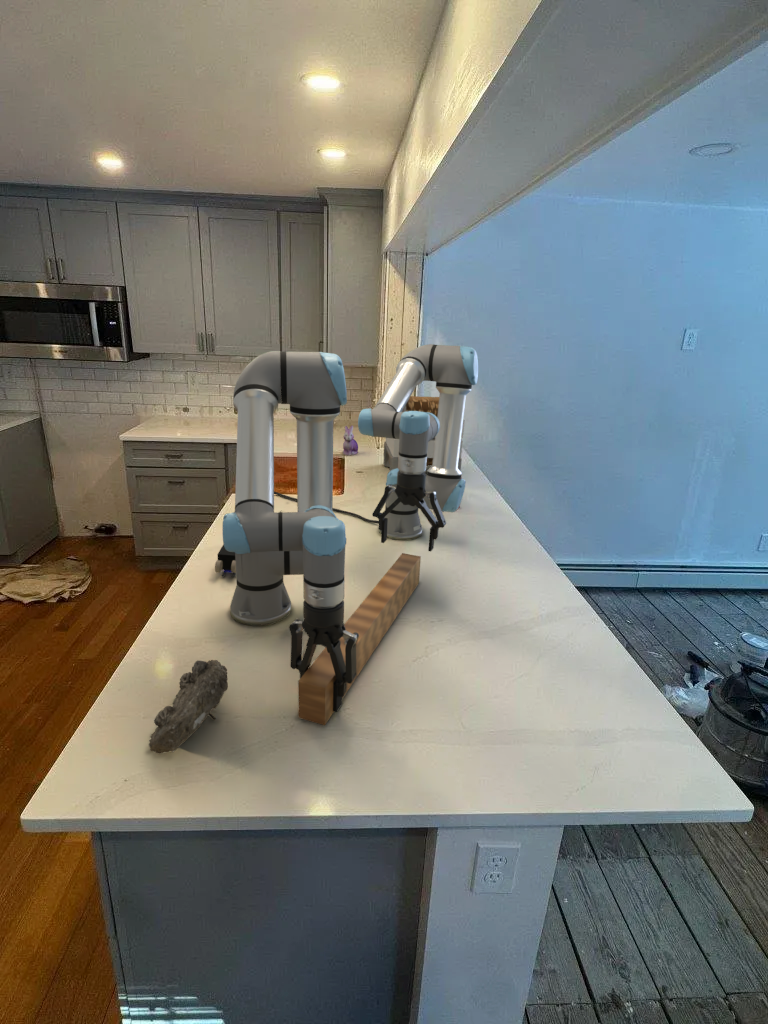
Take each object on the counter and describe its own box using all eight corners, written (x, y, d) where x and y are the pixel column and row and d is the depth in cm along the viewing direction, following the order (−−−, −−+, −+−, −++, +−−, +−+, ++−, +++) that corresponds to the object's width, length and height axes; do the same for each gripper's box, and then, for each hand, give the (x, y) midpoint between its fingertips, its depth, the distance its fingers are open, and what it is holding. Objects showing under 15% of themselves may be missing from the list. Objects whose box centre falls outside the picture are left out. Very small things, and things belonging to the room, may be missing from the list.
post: (400, 579, 166) (402, 553, 164) (418, 582, 165) (420, 556, 162) (298, 717, 109) (298, 680, 106) (324, 725, 107) (325, 688, 104)
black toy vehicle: (238, 584, 162) (249, 557, 175) (236, 562, 158) (247, 536, 172) (215, 584, 161) (227, 556, 175) (212, 561, 158) (225, 535, 171)
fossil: (177, 661, 117) (228, 629, 112) (210, 691, 120) (261, 661, 115) (124, 747, 97) (183, 713, 92) (164, 781, 100) (223, 749, 95)
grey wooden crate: (382, 463, 289) (386, 382, 275) (445, 464, 293) (451, 384, 279) (390, 482, 257) (394, 392, 243) (460, 483, 261) (468, 394, 247)
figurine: (346, 456, 299) (346, 428, 294) (338, 451, 308) (338, 424, 302) (362, 454, 303) (363, 427, 298) (354, 450, 312) (354, 423, 307)
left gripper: (269, 598, 104) (271, 703, 112) (363, 619, 98) (359, 728, 106) (288, 581, 111) (290, 681, 119) (378, 600, 105) (373, 703, 113)
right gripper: (362, 468, 150) (360, 542, 157) (455, 481, 142) (448, 558, 149) (372, 462, 156) (369, 533, 163) (461, 473, 149) (454, 548, 156)
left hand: (322, 703), depth 112 cm, fingers closed on post, 6 cm apart
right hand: (407, 545), depth 156 cm, fingers open, 13 cm apart
